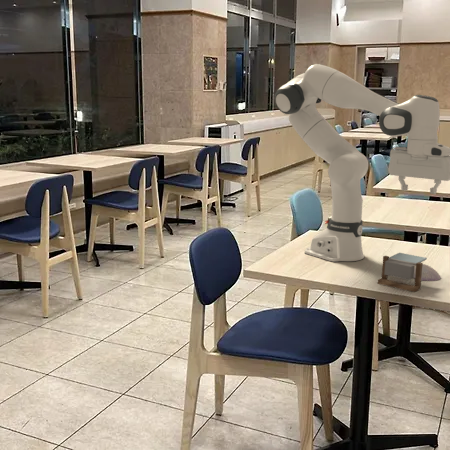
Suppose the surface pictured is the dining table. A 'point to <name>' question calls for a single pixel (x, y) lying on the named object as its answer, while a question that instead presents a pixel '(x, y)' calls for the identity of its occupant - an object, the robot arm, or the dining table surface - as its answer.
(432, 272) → the seashell
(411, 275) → the trapdoor
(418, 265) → the frame
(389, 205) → the dining table surface
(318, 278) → the dining table surface
